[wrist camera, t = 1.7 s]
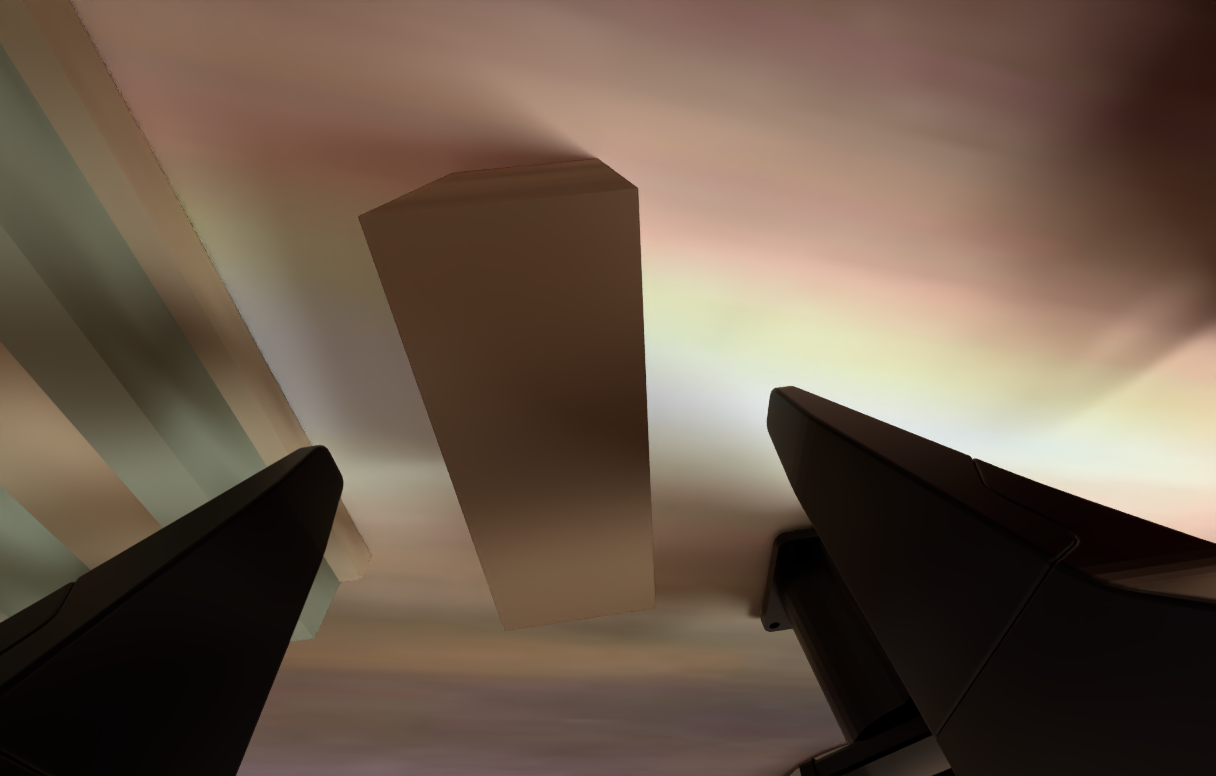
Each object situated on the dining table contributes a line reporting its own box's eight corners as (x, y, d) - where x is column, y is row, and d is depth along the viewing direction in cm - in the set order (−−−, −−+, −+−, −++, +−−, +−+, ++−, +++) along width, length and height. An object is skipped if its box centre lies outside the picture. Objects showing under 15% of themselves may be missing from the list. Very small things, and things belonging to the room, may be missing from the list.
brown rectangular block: (621, 447, 15) (655, 608, 10) (521, 460, 15) (504, 630, 10) (597, 158, 11) (637, 188, 6) (452, 172, 11) (357, 216, 5)
